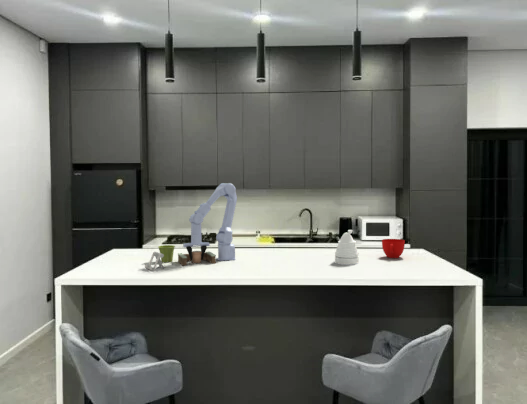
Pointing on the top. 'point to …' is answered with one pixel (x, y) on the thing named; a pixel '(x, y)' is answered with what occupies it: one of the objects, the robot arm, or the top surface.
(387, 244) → the ceramic cup
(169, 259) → the plant pot
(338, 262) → the honey pot
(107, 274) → the top surface
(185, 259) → the green brown u-shaped frame
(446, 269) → the top surface
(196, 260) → the seedling pot
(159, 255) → the portable electronic device stand
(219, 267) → the top surface
